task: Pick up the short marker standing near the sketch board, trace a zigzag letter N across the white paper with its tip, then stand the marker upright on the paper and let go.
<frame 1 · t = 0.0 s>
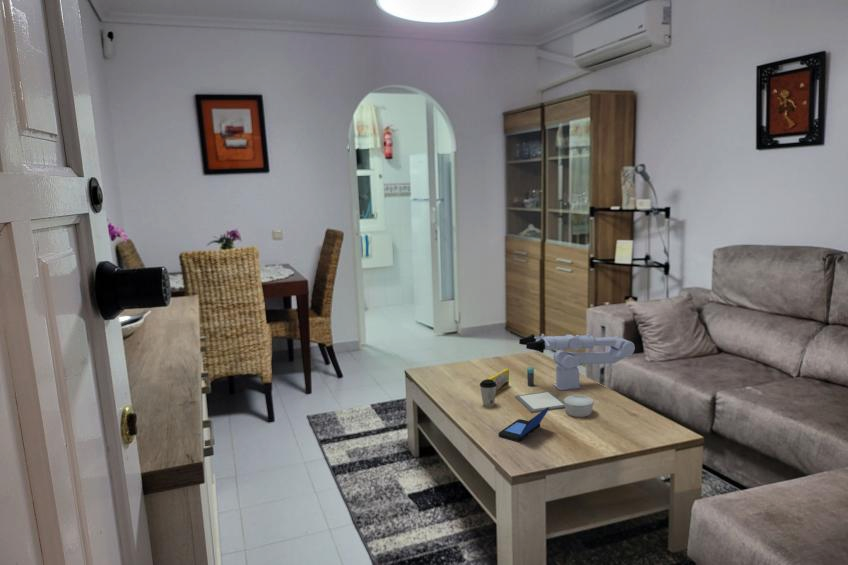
hand: (523, 343, 245), 22 cm above the table, tool horizontal, fingers open, 7 cm apart
coffee cup: (488, 405, 237), on the table
candy box: (498, 392, 252), on the table
ramekin: (578, 413, 224), on the table
marker: (530, 385, 257), on the table
handheld game console: (524, 434, 209), on the table
sketch board: (541, 402, 237), on the table
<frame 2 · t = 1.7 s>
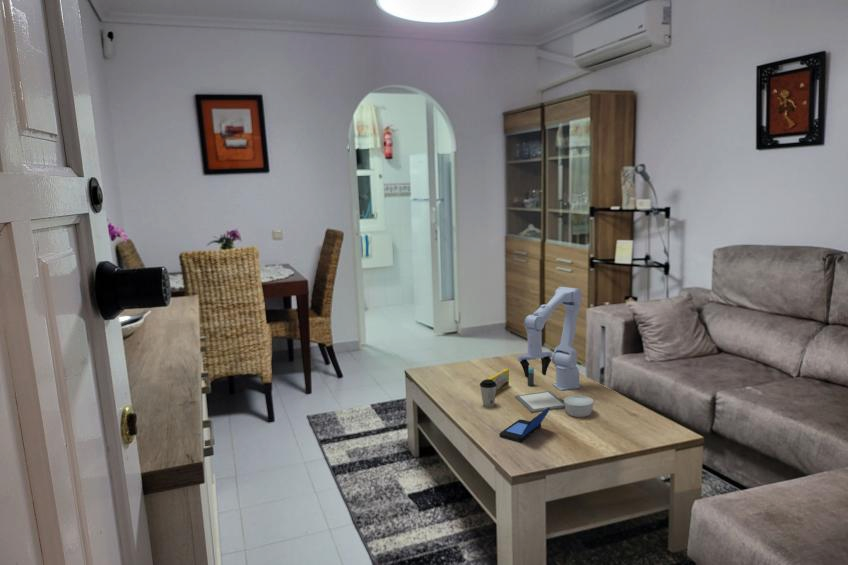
hand: (535, 375, 238), 10 cm above the table, tool pointing down, fingers open, 7 cm apart
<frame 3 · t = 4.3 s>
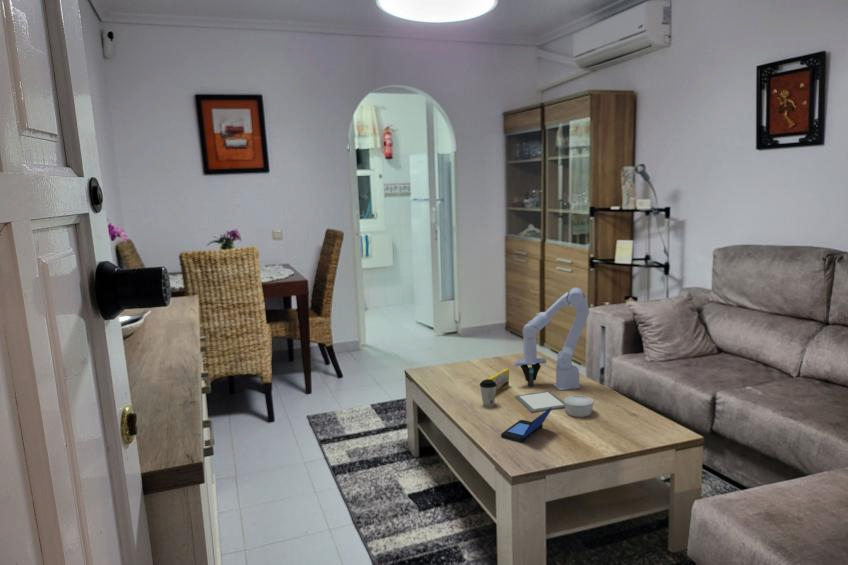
hand: (530, 380, 256), 2 cm above the table, tool pointing down, fingers closed on marker, 3 cm apart
marker: (530, 385, 257), on the table, touching gripper
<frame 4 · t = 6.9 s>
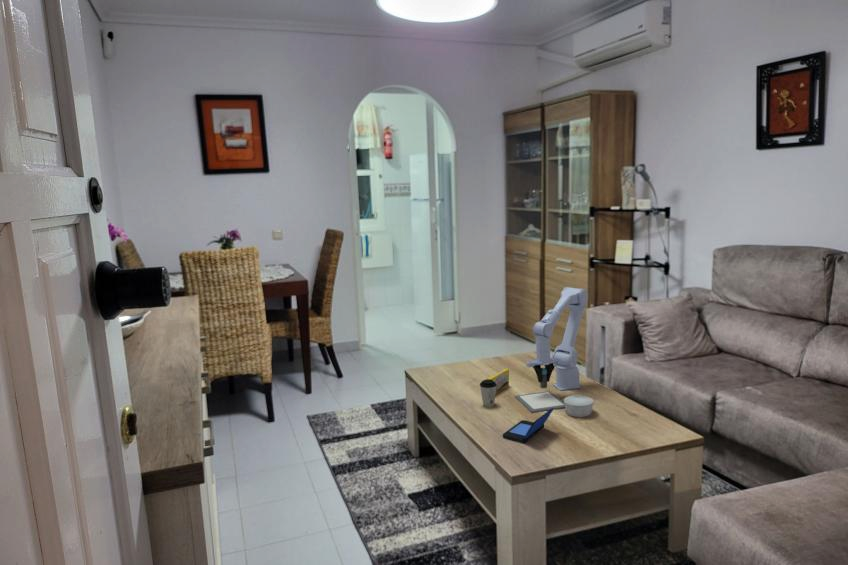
hand: (543, 381, 242), 6 cm above the table, tool pointing down, fingers closed on marker, 3 cm apart
marker: (543, 387, 243), point 4 cm above the table, touching gripper
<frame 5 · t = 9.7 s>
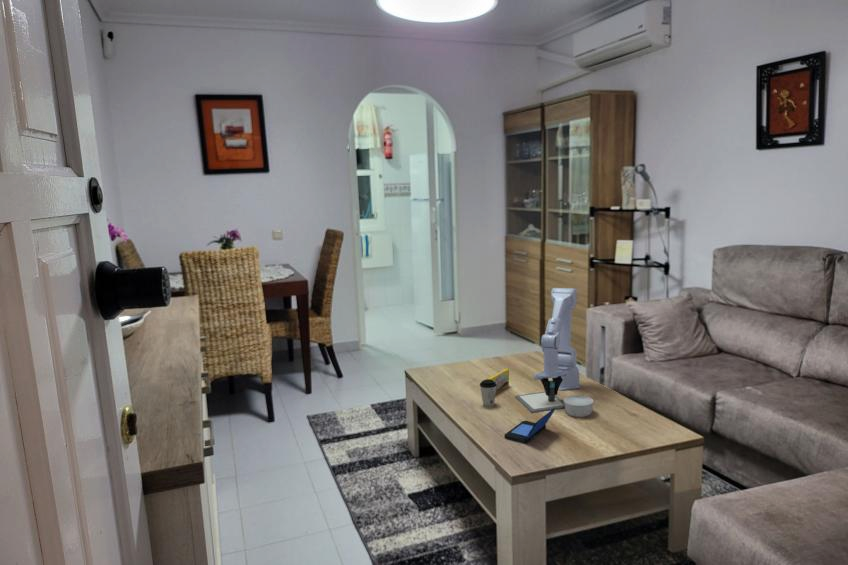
hand: (551, 394, 235), 3 cm above the table, tool pointing down, fingers closed on marker, 3 cm apart
marker: (551, 400, 236), point 1 cm above the table, touching gripper
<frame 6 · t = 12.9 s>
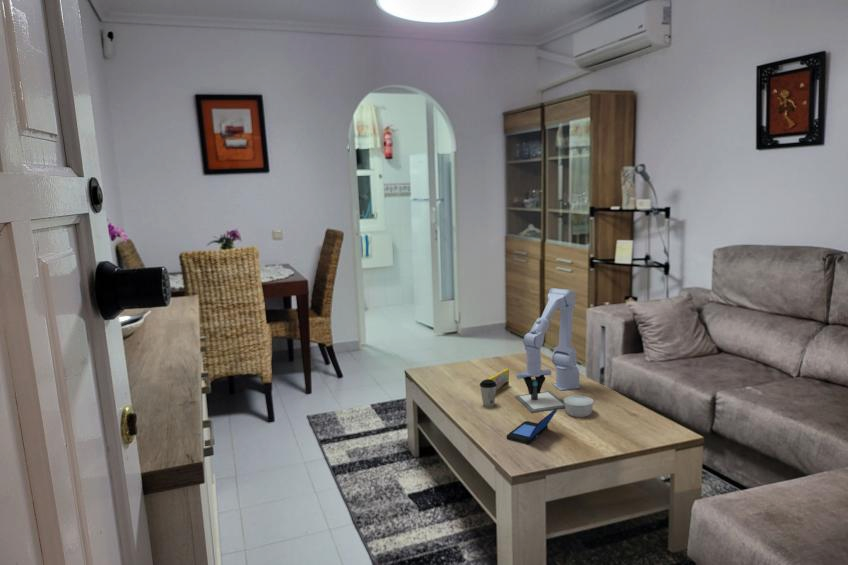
hand: (534, 393, 238), 3 cm above the table, tool pointing down, fingers closed on marker, 3 cm apart
marker: (534, 398, 238), point 1 cm above the table, touching gripper
when the fingers open (4 cm above the table, at t = 15.5 s): marker stays where it is, resting on sketch board.
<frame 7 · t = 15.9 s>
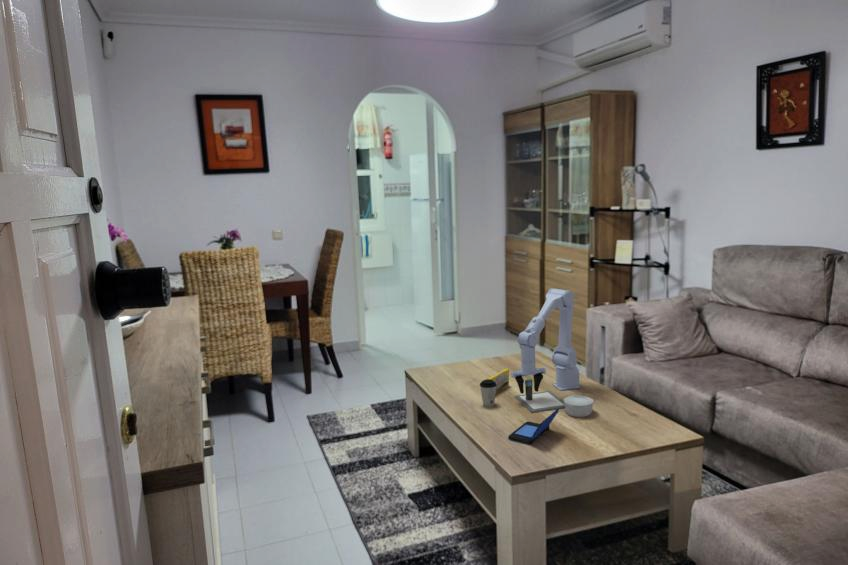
hand: (529, 391, 238), 4 cm above the table, tool pointing down, fingers open, 6 cm apart
marker: (529, 399, 239), point 1 cm above the table, touching sketch board
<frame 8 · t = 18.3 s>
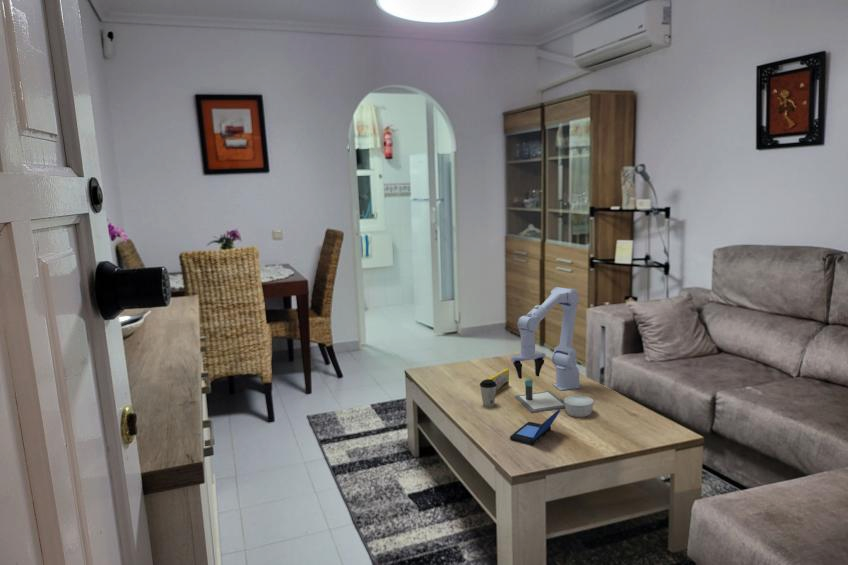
hand: (528, 376, 237), 10 cm above the table, tool pointing down, fingers open, 7 cm apart
at the end: marker inside the target area on the sketch board (5.0 cm from its centre), point 0.8 cm above the sketch board's base; marker tilted 0°; the gripper is holding nothing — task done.
